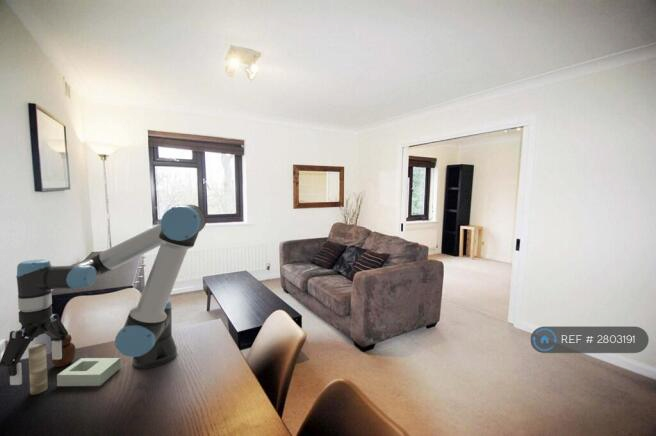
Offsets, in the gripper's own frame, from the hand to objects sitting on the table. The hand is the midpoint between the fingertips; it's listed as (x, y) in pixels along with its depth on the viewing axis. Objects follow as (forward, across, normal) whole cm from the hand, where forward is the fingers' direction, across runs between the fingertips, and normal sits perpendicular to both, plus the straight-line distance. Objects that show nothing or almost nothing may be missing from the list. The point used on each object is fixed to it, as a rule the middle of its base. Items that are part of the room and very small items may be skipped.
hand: (38, 370), depth 92 cm
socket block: (+7, -7, +11) cm, 15 cm away
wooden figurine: (+7, -15, -5) cm, 17 cm away
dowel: (+7, 0, 0) cm, 7 cm away
